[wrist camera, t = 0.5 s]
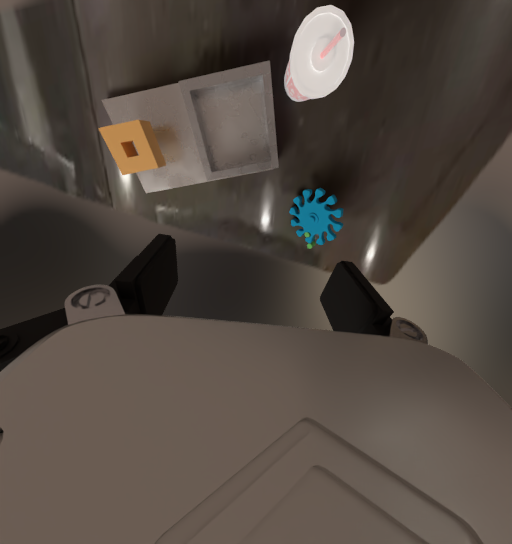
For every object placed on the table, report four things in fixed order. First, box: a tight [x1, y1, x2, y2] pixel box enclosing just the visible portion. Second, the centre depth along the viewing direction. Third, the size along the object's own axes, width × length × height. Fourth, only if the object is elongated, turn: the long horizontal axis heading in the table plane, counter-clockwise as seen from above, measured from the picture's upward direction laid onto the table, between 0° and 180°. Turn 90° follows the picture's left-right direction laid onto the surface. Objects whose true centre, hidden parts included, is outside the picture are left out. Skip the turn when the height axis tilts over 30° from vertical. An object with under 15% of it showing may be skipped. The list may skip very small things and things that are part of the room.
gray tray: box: [102, 60, 279, 193], centre depth 27 cm, size 22×12×4 cm, turn 99°
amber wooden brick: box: [99, 120, 166, 175], centre depth 25 cm, size 5×5×3 cm
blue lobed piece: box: [289, 188, 343, 249], centre depth 35 cm, size 11×6×10 cm
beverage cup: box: [284, 5, 354, 102], centre depth 20 cm, size 6×6×14 cm
